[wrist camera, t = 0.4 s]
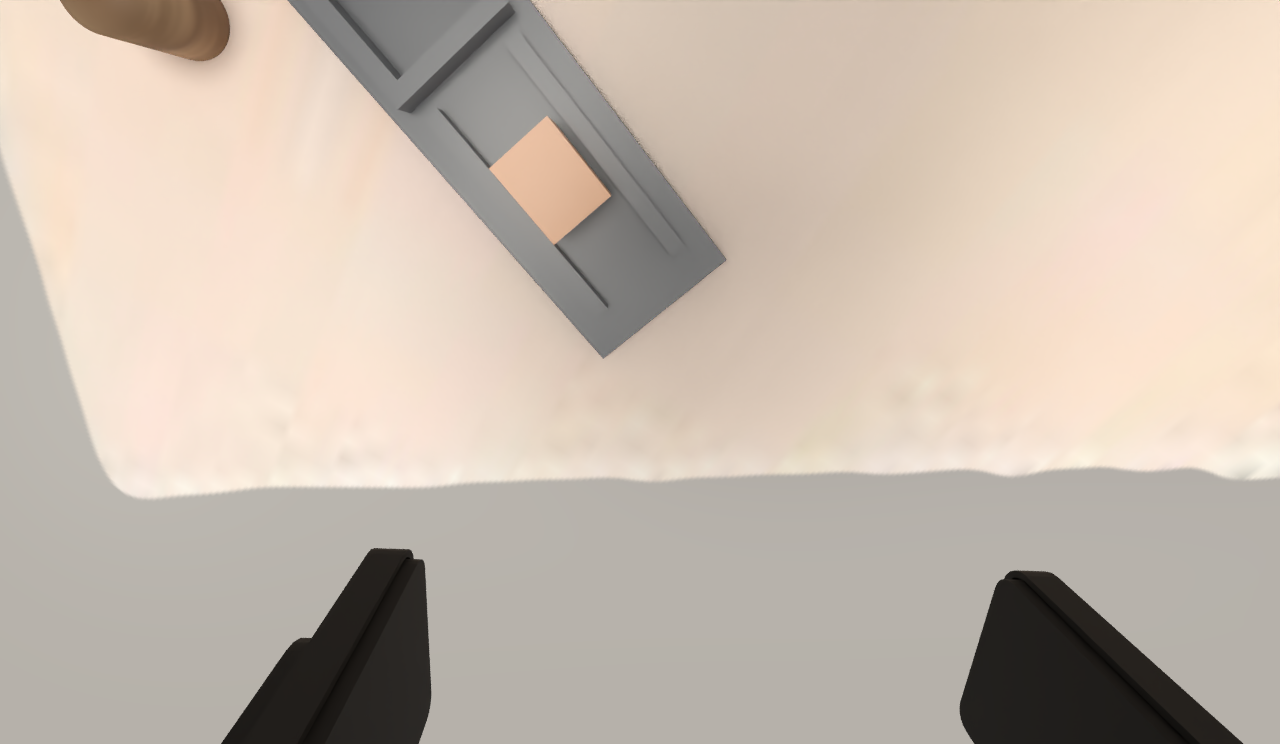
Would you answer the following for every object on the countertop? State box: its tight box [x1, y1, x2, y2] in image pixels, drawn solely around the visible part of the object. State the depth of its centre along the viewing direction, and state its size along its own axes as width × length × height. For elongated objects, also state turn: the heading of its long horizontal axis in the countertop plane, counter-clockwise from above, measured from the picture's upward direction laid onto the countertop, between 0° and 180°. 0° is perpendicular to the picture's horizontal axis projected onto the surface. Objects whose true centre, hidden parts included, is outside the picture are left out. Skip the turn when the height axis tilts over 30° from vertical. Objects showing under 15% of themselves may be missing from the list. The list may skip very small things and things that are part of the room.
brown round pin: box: [60, 0, 230, 61], centre depth 29 cm, size 4×4×6 cm
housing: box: [288, 0, 726, 358], centre depth 33 cm, size 10×28×3 cm, turn 39°
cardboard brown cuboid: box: [489, 116, 611, 245], centre depth 32 cm, size 4×5×4 cm
